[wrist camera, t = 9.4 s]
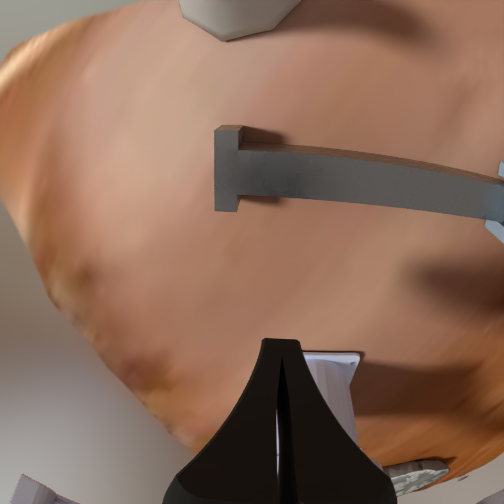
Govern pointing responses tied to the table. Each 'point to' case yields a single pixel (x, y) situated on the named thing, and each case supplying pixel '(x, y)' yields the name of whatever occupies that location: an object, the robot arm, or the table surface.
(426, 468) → the brain slice
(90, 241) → the table surface
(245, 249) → the table surface
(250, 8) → the flask
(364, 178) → the rail
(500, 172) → the block
